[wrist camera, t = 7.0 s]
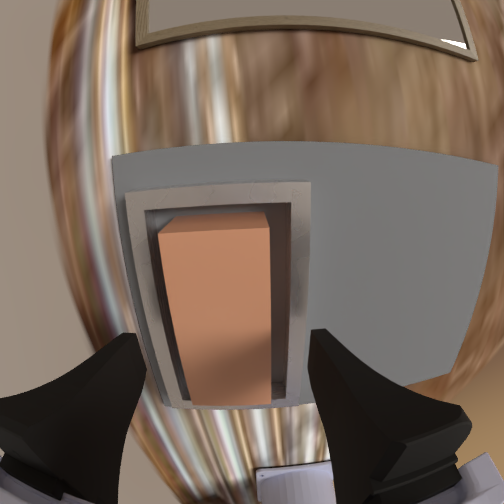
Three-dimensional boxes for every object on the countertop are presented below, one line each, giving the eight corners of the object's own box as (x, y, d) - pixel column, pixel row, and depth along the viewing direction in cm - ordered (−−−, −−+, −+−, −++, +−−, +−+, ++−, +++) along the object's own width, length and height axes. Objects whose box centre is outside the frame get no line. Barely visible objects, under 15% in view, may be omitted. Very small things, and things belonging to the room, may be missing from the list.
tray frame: (295, 388, 17) (298, 405, 15) (176, 391, 16) (172, 407, 15) (303, 179, 12) (310, 182, 11) (137, 188, 12) (124, 193, 11)
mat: (448, 370, 18) (450, 372, 17) (165, 403, 17) (164, 406, 17) (495, 165, 12) (498, 165, 12) (114, 156, 12) (111, 156, 12)
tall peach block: (263, 211, 13) (269, 227, 10) (267, 366, 16) (271, 404, 13) (176, 216, 13) (158, 233, 10) (199, 368, 16) (192, 405, 13)
